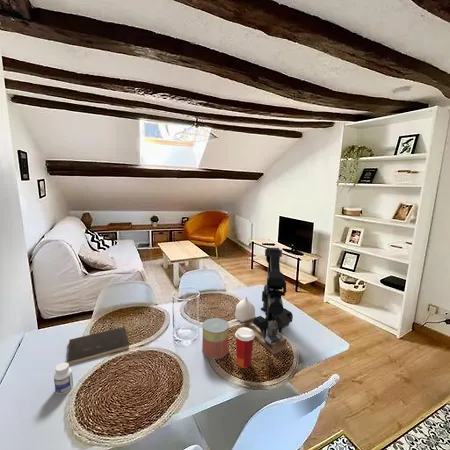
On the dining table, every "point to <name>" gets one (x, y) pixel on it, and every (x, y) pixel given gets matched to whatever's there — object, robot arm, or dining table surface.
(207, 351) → the canned food
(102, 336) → the hardcover book
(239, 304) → the teardrop
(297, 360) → the dining table surface
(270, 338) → the carriage
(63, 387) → the pill bottle
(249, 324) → the rail
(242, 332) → the paper cup
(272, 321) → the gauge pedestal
